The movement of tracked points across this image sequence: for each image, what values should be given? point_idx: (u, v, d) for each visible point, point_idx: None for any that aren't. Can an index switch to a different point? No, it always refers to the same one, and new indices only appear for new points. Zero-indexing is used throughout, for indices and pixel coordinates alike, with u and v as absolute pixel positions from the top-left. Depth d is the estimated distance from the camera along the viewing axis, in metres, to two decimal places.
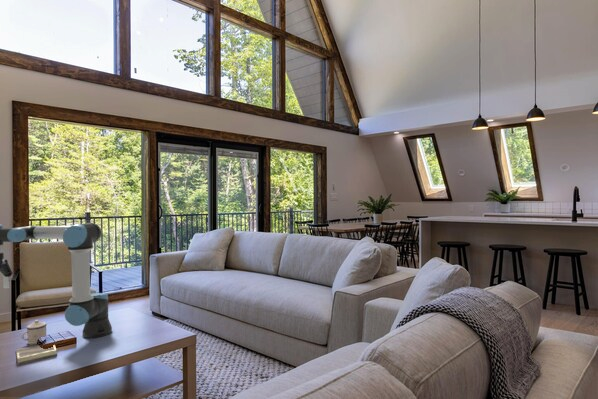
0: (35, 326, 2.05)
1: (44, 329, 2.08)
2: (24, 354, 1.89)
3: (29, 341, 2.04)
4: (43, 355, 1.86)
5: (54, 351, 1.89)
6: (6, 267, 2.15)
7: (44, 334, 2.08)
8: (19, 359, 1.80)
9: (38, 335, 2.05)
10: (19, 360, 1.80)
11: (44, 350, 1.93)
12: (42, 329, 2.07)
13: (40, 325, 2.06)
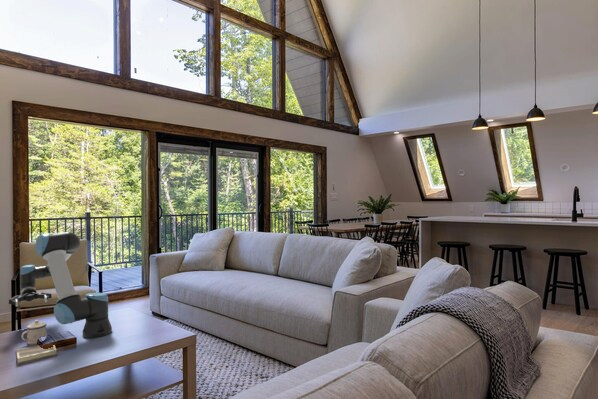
0: (35, 326, 2.05)
1: (44, 329, 2.08)
2: (24, 354, 1.89)
3: (29, 341, 2.04)
4: (43, 355, 1.86)
5: (54, 351, 1.89)
6: None
7: (44, 334, 2.08)
8: (19, 359, 1.80)
9: (38, 335, 2.05)
10: (19, 360, 1.80)
11: (44, 350, 1.93)
12: (42, 329, 2.07)
13: (40, 325, 2.06)
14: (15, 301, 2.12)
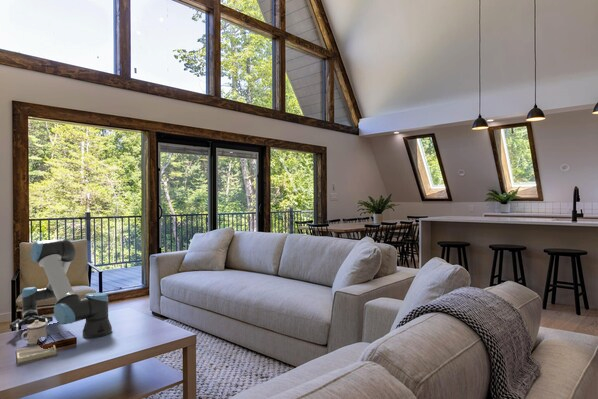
0: (35, 326, 2.05)
1: (44, 329, 2.08)
2: (24, 354, 1.89)
3: (29, 341, 2.04)
4: (43, 355, 1.86)
5: (54, 351, 1.89)
6: (45, 318, 2.25)
7: (44, 334, 2.08)
8: (19, 359, 1.80)
9: (38, 335, 2.05)
10: (19, 360, 1.80)
11: (44, 350, 1.93)
12: (42, 329, 2.07)
13: (40, 325, 2.06)
14: (16, 326, 2.10)
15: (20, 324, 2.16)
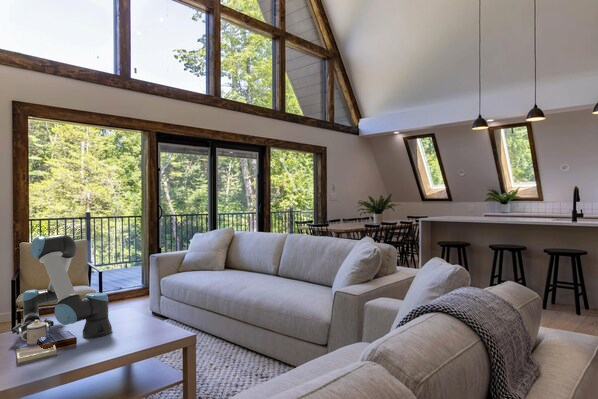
0: (35, 326, 2.05)
1: (44, 329, 2.08)
2: (24, 354, 1.89)
3: (29, 341, 2.04)
4: (43, 355, 1.86)
5: (54, 351, 1.89)
6: (46, 322, 2.17)
7: (44, 334, 2.08)
8: (19, 359, 1.80)
9: (38, 335, 2.05)
10: (19, 360, 1.80)
11: (44, 350, 1.93)
12: (42, 329, 2.07)
13: (40, 325, 2.06)
14: (19, 330, 2.03)
15: (23, 328, 2.08)
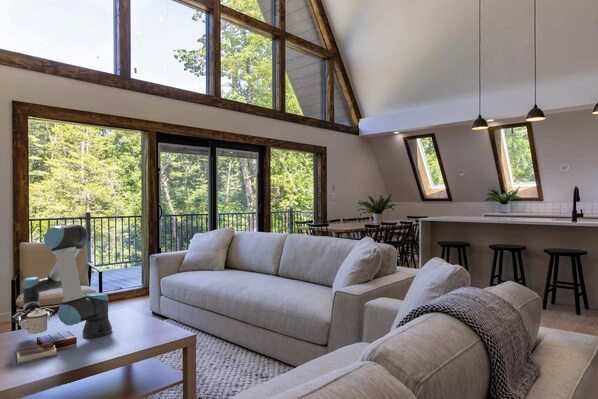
0: (35, 315, 1.93)
1: (45, 318, 1.96)
2: (24, 354, 1.89)
3: (29, 330, 1.92)
4: (43, 355, 1.86)
5: (54, 351, 1.89)
6: (48, 311, 2.06)
7: (45, 323, 1.96)
8: (19, 359, 1.80)
9: (38, 324, 1.93)
10: (19, 360, 1.80)
11: (44, 350, 1.93)
12: (43, 318, 1.95)
13: (41, 314, 1.95)
14: (18, 319, 1.91)
15: (22, 317, 1.97)
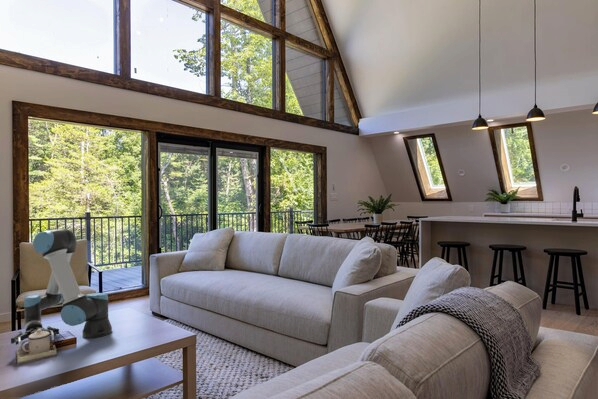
0: (37, 336, 1.88)
1: (47, 339, 1.91)
2: (24, 354, 1.89)
3: (31, 352, 1.87)
4: (43, 355, 1.86)
5: (54, 351, 1.89)
6: (50, 330, 2.01)
7: (47, 344, 1.91)
8: (19, 359, 1.80)
9: (41, 345, 1.88)
10: (19, 360, 1.80)
11: None
12: (45, 339, 1.90)
13: (43, 335, 1.89)
14: (18, 340, 1.86)
15: (23, 338, 1.91)
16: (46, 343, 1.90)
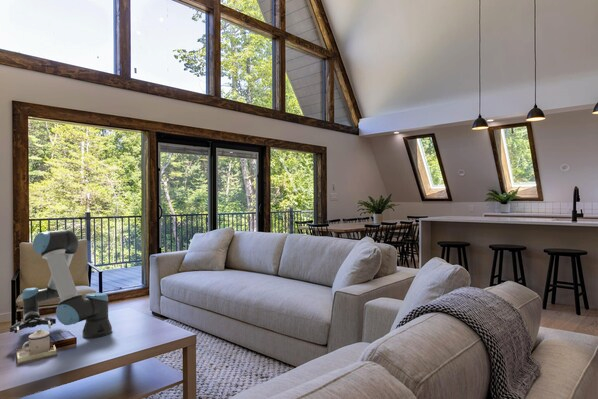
0: (37, 336, 1.88)
1: (47, 339, 1.91)
2: (24, 354, 1.89)
3: (31, 352, 1.87)
4: (43, 355, 1.86)
5: (54, 351, 1.89)
6: (48, 320, 2.11)
7: (47, 344, 1.91)
8: (19, 359, 1.80)
9: (41, 345, 1.88)
10: (19, 360, 1.80)
11: None
12: (45, 339, 1.90)
13: (43, 335, 1.89)
14: (16, 329, 1.96)
15: (21, 327, 2.01)
16: (46, 343, 1.90)
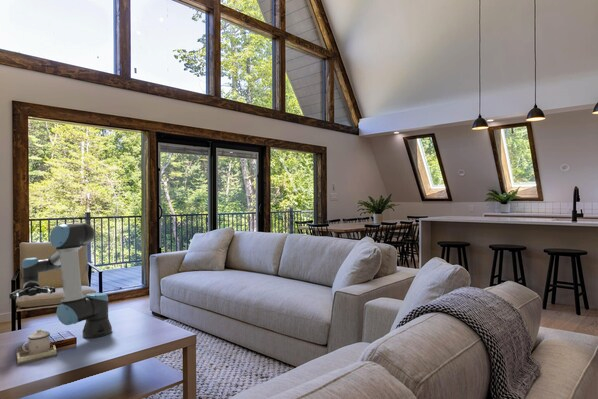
0: (37, 336, 1.88)
1: (47, 339, 1.91)
2: (24, 354, 1.89)
3: (31, 352, 1.87)
4: (43, 355, 1.86)
5: (54, 351, 1.89)
6: None
7: (47, 344, 1.91)
8: (19, 359, 1.80)
9: (41, 345, 1.88)
10: (19, 360, 1.80)
11: None
12: (45, 339, 1.90)
13: (43, 335, 1.89)
14: (16, 295, 1.95)
15: (21, 294, 2.01)
16: (46, 343, 1.90)
